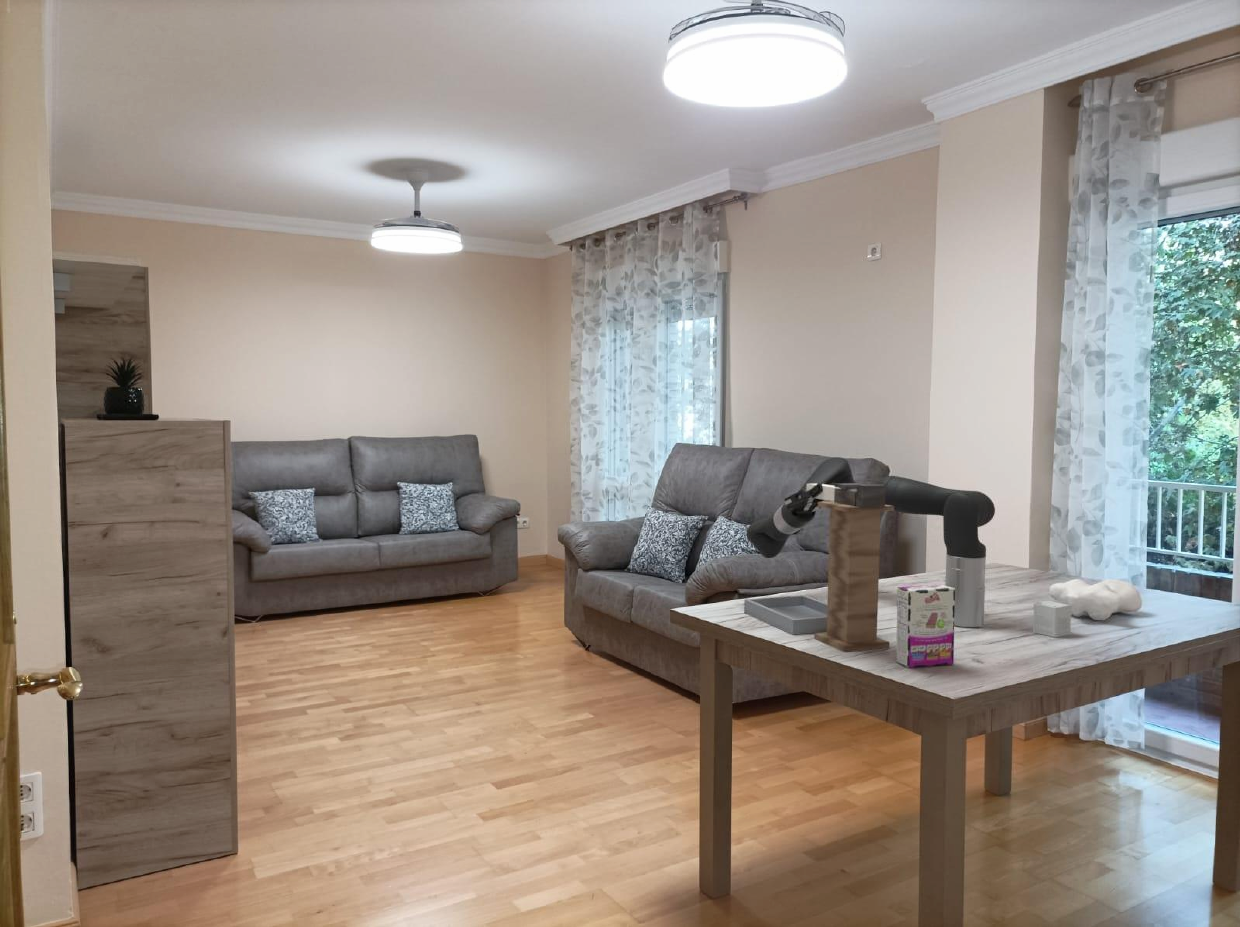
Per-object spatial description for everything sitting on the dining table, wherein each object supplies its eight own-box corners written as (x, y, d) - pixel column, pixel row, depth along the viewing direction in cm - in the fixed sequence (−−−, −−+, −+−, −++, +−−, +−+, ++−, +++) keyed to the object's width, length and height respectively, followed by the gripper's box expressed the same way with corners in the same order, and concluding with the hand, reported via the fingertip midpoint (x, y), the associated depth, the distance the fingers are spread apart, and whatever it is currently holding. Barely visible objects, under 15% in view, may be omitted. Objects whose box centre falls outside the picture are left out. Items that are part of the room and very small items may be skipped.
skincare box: (1070, 635, 220) (1072, 604, 220) (1054, 638, 217) (1056, 607, 217) (1048, 629, 225) (1049, 600, 225) (1032, 632, 222) (1033, 602, 222)
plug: (864, 503, 207) (864, 489, 207) (852, 504, 206) (852, 490, 206) (817, 496, 225) (817, 483, 225) (806, 496, 224) (806, 483, 224)
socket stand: (891, 648, 206) (897, 485, 203) (846, 652, 202) (851, 486, 199) (857, 634, 218) (862, 480, 215) (814, 638, 214) (818, 481, 211)
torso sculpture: (1083, 610, 254) (1035, 613, 239) (1087, 574, 254) (1038, 575, 239) (1152, 623, 239) (1105, 627, 225) (1156, 585, 239) (1109, 587, 224)
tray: (857, 629, 223) (857, 614, 223) (792, 634, 217) (793, 620, 217) (803, 607, 246) (804, 595, 245) (744, 612, 239) (744, 599, 239)
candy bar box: (939, 658, 198) (942, 583, 197) (954, 665, 193) (957, 588, 192) (894, 662, 195) (896, 585, 194) (907, 668, 190) (910, 590, 189)
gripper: (766, 502, 232) (798, 472, 217) (814, 500, 237) (849, 471, 222) (773, 529, 229) (806, 501, 214) (821, 527, 234) (857, 500, 219)
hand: (827, 486), depth 218 cm, fingers closed on plug, 3 cm apart
